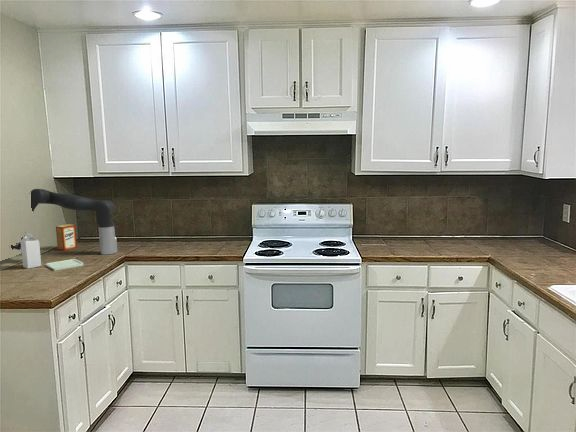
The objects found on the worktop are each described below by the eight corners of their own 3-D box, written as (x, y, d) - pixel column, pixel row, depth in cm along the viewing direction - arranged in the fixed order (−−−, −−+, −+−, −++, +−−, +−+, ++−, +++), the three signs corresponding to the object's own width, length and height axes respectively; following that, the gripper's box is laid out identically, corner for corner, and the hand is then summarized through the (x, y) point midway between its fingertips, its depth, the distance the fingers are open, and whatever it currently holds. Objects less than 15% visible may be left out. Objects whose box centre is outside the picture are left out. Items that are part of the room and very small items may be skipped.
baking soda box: (64, 250, 293) (61, 226, 291) (57, 249, 296) (55, 225, 294) (76, 247, 301) (75, 224, 299) (70, 246, 304) (68, 223, 302)
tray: (74, 260, 265) (74, 258, 265) (84, 265, 254) (84, 263, 254) (45, 265, 254) (45, 263, 254) (54, 270, 243) (53, 268, 243)
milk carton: (36, 264, 257) (33, 232, 255) (41, 266, 253) (38, 233, 250) (22, 267, 252) (19, 234, 249) (28, 269, 248) (24, 235, 245)
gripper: (5, 238, 262) (12, 242, 251) (32, 235, 272) (40, 238, 260) (7, 250, 263) (13, 255, 252) (34, 247, 273) (41, 251, 261)
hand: (27, 246), depth 256 cm, fingers open, 8 cm apart
